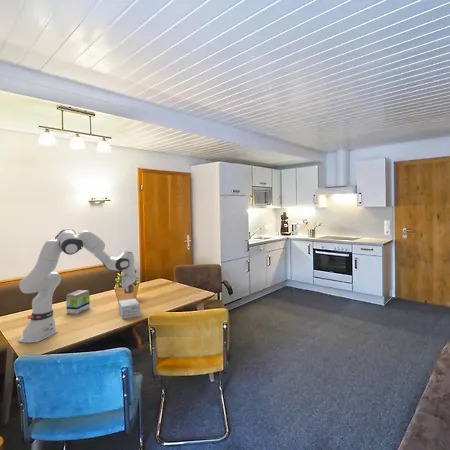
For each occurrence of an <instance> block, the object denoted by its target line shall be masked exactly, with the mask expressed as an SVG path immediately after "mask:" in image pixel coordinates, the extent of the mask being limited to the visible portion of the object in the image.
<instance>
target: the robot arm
mask: <svg viewBox="0 0 450 450" xmlns="http://www.w3.org/2000/svg"><path fill="white" fill-rule="evenodd" d="M83 248H84V249H85V250H86V251H88V252H89V253H90V254H93V255H94V256H95V258H97V259H98V260H99V261H100V262H101V263H102V265H103V267H104V268H105V269H106V270H111V271H112V270H113V271H122V278H121V285H120V286H121V288H124V290H125V289H126V292H128V291H129V289H128V286H129V285H133V286H134V284H133V283H135V282H136V281H137V273H138V272H137V269H135V256H134V255H135V254H134V253H133V252H132V251H123V252H122V253H121V254H120V255H118V256H113V255H109V254H107V252H105V251H104V250H105V248H106V243H105V242H104V241H103V240H102V239H101V238H100V237H99V236H98V235H96V234H94V233H93V232H91V231H89V230H82V231H80V232H79V234H78V233H76V231H75V230H73V229H71V228H68V227H67V228H63V229H61V230H60V231H59V232H58V234H57V235H55V236H54V239H48V240H46V241H45V242H44V244H43V246H42V247H41V250H40V253H39V255H38V259H37V261H36V262H35V263H36V264H35V265H34V267H33V268H32V269H31V271H30V272H28V274H27V275H26V276H24V277H23V278H22V279H21V280H20V281H19V286H18V287H19V289H20V291H21V293H23V294H34V293H37V295H35V297H34V298H32V301H31V309H32V312H31V314H30V315H27V319H28V320H29V322H28V323H27V325H26V326H25V327H24V329H23V331H22V336H21V337H20V338H19V339H18V343H24V344H26V343H38V342H41V341H44V340H45V339H47V338H49V337H51V336H53V335H55V334H56V333H59V332H58V330H57V326H56V321H55V318H54V308H53V297H54V292H55V290H56V289H57V287H58V286H59V285H60V283H61V282H62V277H61V275H60V273H59V272H57V271H55V269H56V268H57V265H58V262H59V259H60V257H61V256H60V255H61V254H62V252H63V253H65V254H66V255H68V256H71V255H75V254H77V253H79V251H80V250H83Z"/></svg>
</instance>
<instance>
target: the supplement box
mask: <svg viewBox="0 0 450 450" xmlns="http://www.w3.org/2000/svg"><path fill="white" fill-rule="evenodd" d="M140 305H141V304H140V302H139V301H138V300H137V299H136V298H129V299H122V300H118V313H119V315H120V317H121V319H122V320H123V319H130V318H135V317H136V316H137V317H141V308H140ZM137 317H136V318H137Z"/></svg>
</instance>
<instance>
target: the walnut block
mask: <svg viewBox="0 0 450 450" xmlns="http://www.w3.org/2000/svg"><path fill="white" fill-rule="evenodd" d="M128 289H129V291H128V292H126V289H125V288H124V294H132V293H134V284H133V285H129V286H128Z"/></svg>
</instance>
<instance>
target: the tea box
mask: <svg viewBox="0 0 450 450" xmlns="http://www.w3.org/2000/svg"><path fill="white" fill-rule="evenodd" d="M65 298H66V314H76V315H77V314H80V313H81V312H84V311H86V310H89V309H90V301H91V300H90V298H91V297H90V290H84V289H78V290H74V291H73V292H70V293H68V294H66V297H65Z"/></svg>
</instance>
